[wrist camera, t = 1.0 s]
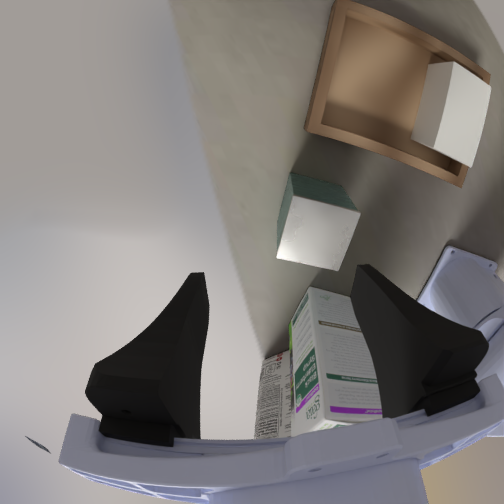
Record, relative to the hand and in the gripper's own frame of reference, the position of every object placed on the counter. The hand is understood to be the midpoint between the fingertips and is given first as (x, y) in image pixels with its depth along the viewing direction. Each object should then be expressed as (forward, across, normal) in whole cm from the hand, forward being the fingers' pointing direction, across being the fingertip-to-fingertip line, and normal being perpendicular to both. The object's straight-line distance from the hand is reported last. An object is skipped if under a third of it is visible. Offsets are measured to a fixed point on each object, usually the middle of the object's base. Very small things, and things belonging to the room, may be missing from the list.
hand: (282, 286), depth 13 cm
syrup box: (+11, -6, +13) cm, 18 cm away
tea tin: (+12, -4, +1) cm, 12 cm away
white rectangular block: (+10, -14, -8) cm, 20 cm away
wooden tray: (+11, -11, -9) cm, 18 cm away
